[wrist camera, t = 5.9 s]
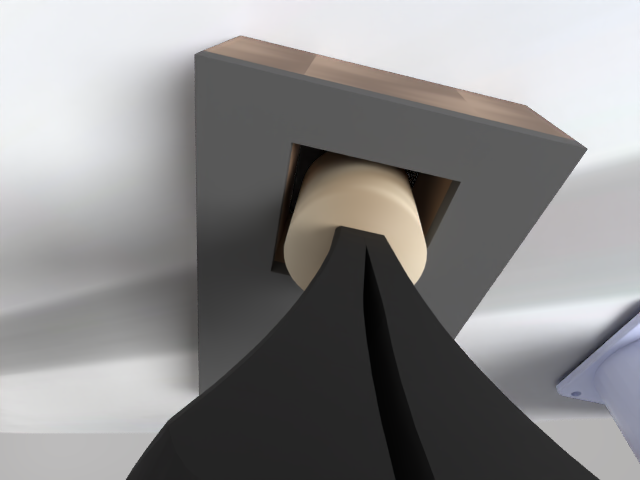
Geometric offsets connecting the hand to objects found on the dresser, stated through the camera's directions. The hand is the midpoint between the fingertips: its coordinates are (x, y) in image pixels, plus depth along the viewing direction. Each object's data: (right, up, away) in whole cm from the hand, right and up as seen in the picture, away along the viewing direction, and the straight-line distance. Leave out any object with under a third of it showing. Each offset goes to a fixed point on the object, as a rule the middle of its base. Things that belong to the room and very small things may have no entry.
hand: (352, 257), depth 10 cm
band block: (-1, -2, +8) cm, 8 cm away
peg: (0, +2, +3) cm, 4 cm away
